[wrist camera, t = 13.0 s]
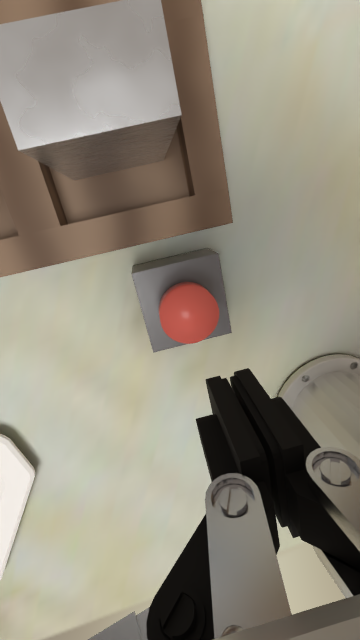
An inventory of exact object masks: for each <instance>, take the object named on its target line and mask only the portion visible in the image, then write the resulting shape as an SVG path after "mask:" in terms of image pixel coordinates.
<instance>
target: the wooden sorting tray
mask: <svg viewBox="0 0 360 640" xmlns="http://www.w3.org/2000/svg"><path fill="white" fill-rule="evenodd" d="M229 223H233V220H232V213H231V206H230V199H229V192H228V185H227V178H226V171H225V164H224V157H223V151H222V144H221V137H220V130H219V123H218V116H217V109H216V102H215V95H214V88H213V81H212V74H211V67H210V60H209V53H208V46H207V39H206V33H205V26H204V19H203V12H202V5H201V0H0V277H4V276H8V275H12V274H16V273H21V272H25V271H29V270H33V269H38V268H42V267H46V266H50V265H55V264H59V263H63V262H67V261H72V260H76V259H80V258H84V257H89V256H93V255H97V254H101V253H106V252H110V251H114V250H118V249H123V248H127V247H131V246H135V245H140V244H144V243H148V242H152V241H157V240H161V239H165V238H170V237H174V236H178V235H182V234H187V233H191V232H195V231H199V230H204V229H208V228H212V227H216V226H221V225H225V224H229Z"/></svg>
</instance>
